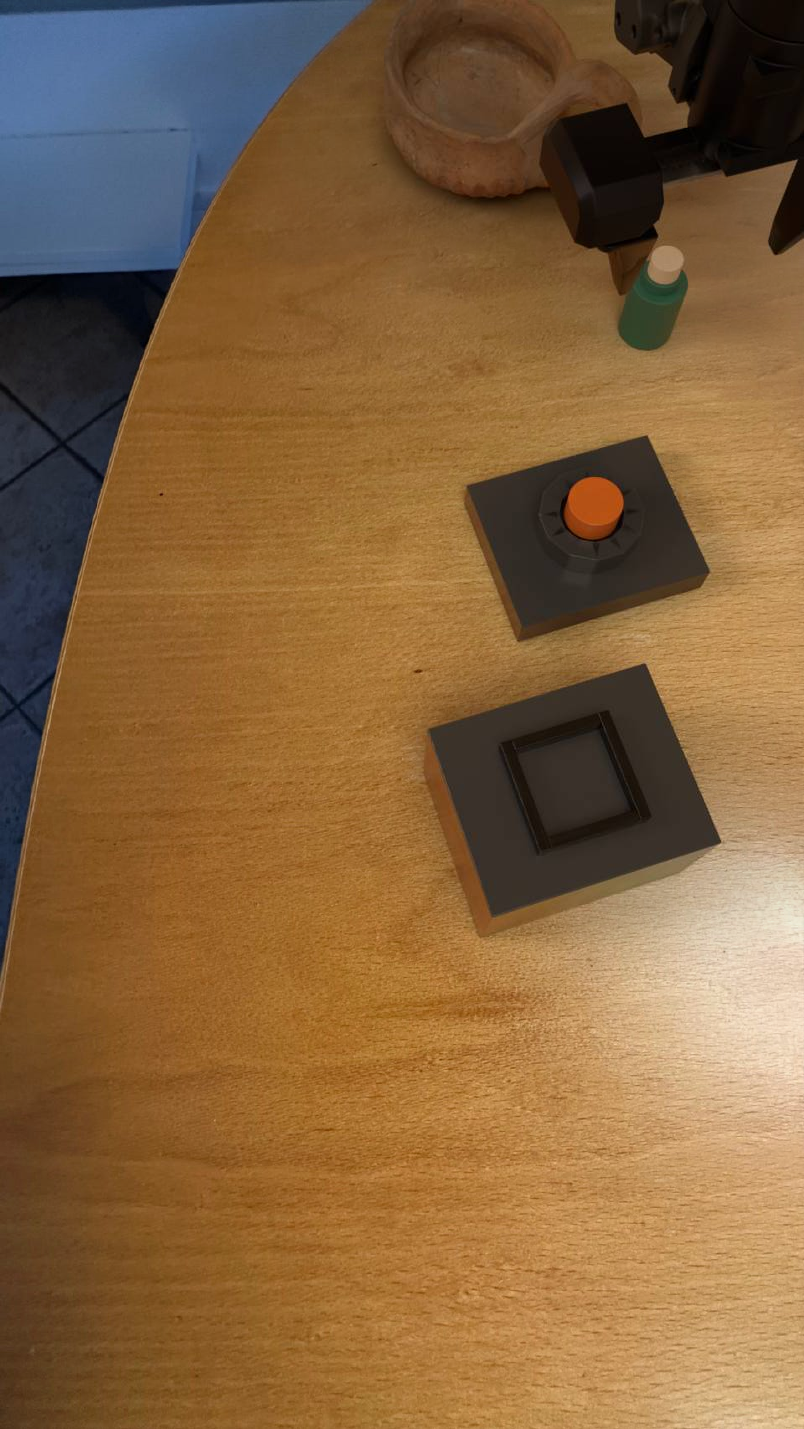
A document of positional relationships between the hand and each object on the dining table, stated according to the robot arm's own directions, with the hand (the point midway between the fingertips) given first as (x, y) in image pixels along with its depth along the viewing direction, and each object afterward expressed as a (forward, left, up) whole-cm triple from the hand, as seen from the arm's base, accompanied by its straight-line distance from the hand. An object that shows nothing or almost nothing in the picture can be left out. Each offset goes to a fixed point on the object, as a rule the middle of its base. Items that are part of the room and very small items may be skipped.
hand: (697, 268), depth 59 cm
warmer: (+16, +25, -12) cm, 32 cm away
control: (+8, +9, -12) cm, 17 cm away
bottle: (-2, -5, -12) cm, 13 cm away
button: (+8, +9, -8) cm, 15 cm away
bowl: (+2, -22, -12) cm, 25 cm away
